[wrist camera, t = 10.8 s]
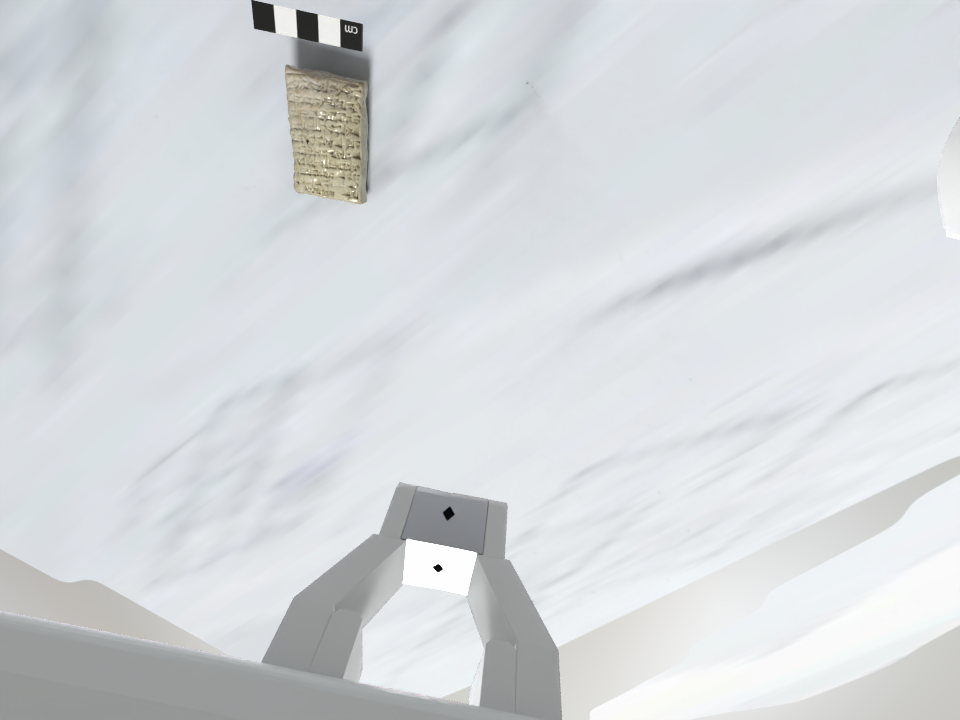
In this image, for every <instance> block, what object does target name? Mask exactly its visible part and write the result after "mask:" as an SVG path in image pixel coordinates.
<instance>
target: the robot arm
mask: <svg viewBox="0 0 960 720" xmlns="http://www.w3.org/2000/svg"><path fill="white" fill-rule="evenodd" d="M937 188H938V199H939V206H940V211H941V216H942V221H943V226H944V230H945V231H946V236H947V237H951V238H955V239H959V240H960V118H959V119H958V121H957V122H956V124H955V126H954V127H953V129H952V131H951V133H950V135H949V137H948V139H947V141H946V143H945V146H944V148H943V150H942V154H941V157H940V161H939V166H938V173H937ZM507 508H508V506H507V503H504V502H498V501H493V500H488V499H485V498H479V497H473V496H468V495H462V494H456V493H453V494H452V493H448V492H443V491H439V490H434V489H430V488H425V487H421V486H416V485H411V484H406V483H401V482H400V483H399V484H398V486H397V487H396V490H395V493H394V496H393V498H392V501H391V504H390V506H389V509H388V512H387V515H386V517H385V520H384V523H383V525H382V528H381V531H380V534H379V535H377V534H373V535H372V536H370V537H369V538H368V539H367V540H365V541H364V542H363V543H362V544H360V545H359V546H358V547H357V548H355V549H354V550H353V551H352V552H350V553H349V554H348V555H347V556H345V557H344V558H343V559H342V560H340V561H339V562H338V563H337V564H335V565H334V566H333V567H332V568H330V569H329V570H328V571H327V572H325V573H324V574H323V575H322V576H320V577H319V578H318V579H317V580H315V581H314V582H313V583H312V584H310V585H309V586H308V587H307V588H305V589H304V590H303V591H302V592H300V593H299V594H298V595H297V596H295V597H294V598H293V600H292V602H291V604H290V606H289V608H288V610H287V612H286V614H285V616H284V618H283V620H282V622H281V624H280V626H279V628H278V630H277V632H276V634H275V636H274V638H273V640H272V642H271V644H270V646H269V648H268V650H267V652H266V654H265V656H264V658H263V660H262V662H256V661H251V660H246V659H241V658H236V657H231V656H226V655H221V654H215V653H211V652H206V651H201V650H196V649H191V648H186V647H181V646H176V645H171V644H166V643H161V642H156V641H151V640H146V639H141V638H136V637H131V636H126V635H121V634H116V633H111V632H106V631H101V630H96V629H91V628H85V627H81V626H76V625H71V624H66V623H61V622H56V621H51V620H45V619H41V618H36V617H31V616H26V615H21V614H16V613H11V612H6V611H1V610H0V720H562V711H561V692H560V672H559V653H558V649H557V647H556V645H555V643H554V642H553V640H552V638H551V636H550V634H549V632H548V630H547V629H546V627H545V625H544V623H543V621H542V619H541V617H540V615H539V614H538V612H537V610H536V608H535V606H534V604H533V602H532V601H531V599H530V597H529V595H528V593H527V591H526V589H525V588H524V586H523V584H522V582H521V580H520V578H519V576H518V574H517V573H516V571H515V569H514V567H513V565H512V563H511V561H510V560H505V543H506V525H507ZM403 583H407V584H413V585H419V586H425V587H431V588H437V589H441V590H446V591H450V592H454V593H459V594H463V595H467V596H466V598H467V601H468V603H469V606H470V609H471V612H472V615H473V618H474V620H475V623H476V626H477V629H478V632H479V635H480V637H481V640H482V643H483V646H484V651H483V653H482V656H481V659H480V662H479V665H478V668H477V671H476V674H475V677H474V680H473V683H472V686H471V689H470V696H469V704H464V703H460V702H455V701H450V700H445V699H440V698H435V697H430V696H425V695H420V694H415V693H410V692H405V691H400V690H395V689H391V688H386V687H381V686H376V685H371V684H366V683H361V682H359V679H360V676H361V672H362V629H363V628H364V627H365V626H366V625H367V623H368V622H369V621H370V620H371V619H372V618H373V617H374V616H375V615H376V614H377V612H378V611H379V610H380V609H381V608H382V607H383V606H384V605H385V604H386V603H387V601H388V600H389V599H390V598H391V597H392V596H393V595H394V594H395V593H396V592H397V591H398V589H399V588H400V587H401V586H402V585H403Z"/></svg>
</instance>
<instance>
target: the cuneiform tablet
mask: <svg viewBox="0 0 960 720" xmlns="http://www.w3.org/2000/svg"><path fill="white" fill-rule="evenodd" d="M251 2H252V11H253V21H254V29H258V30H263V31H268V32H272V33H277V34H282V35H286V36H291V37H296V38H300V39H305V40H310V41H314V42H319V43H324V44H329V45H333V46H338V47H343V48H347V49H352V50H357V51H361V52H362V49H363V24H360V23H356V22H351V21H346V20H342V19H337V18H332V17H328V16H323V15H318V14H314V13H309V12H304V11H300V10H295V9H291V8H286V7H281V6H277V5H272V4H267V3H263V2H258V1H253V0H251ZM285 79H286V87H287V101H288V114H289V117H288V119H289V123H290V127H291V129H290V134H291V138H292V146H293V150H294V152H293V157H294V159H295V163H294V171H295V173H294V176H293V178H294V188H295V191H296V192H298V193H303V194H310V195H315V196H320V197H324V198H329V199H335V200H341V201H346V202H350V203H355V204H363V203H365V202H367V194H366V179H367V162H368V150H367V137H368V117H367V106H366V99H367V94H368V83H367V81H365V80H358V79H354V78H349V77H345V76H341V75H337V74H334V73H331V72H327V71H321V70H315V69H305V68H299V67H296V66H290V65H286V66H285Z"/></svg>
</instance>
